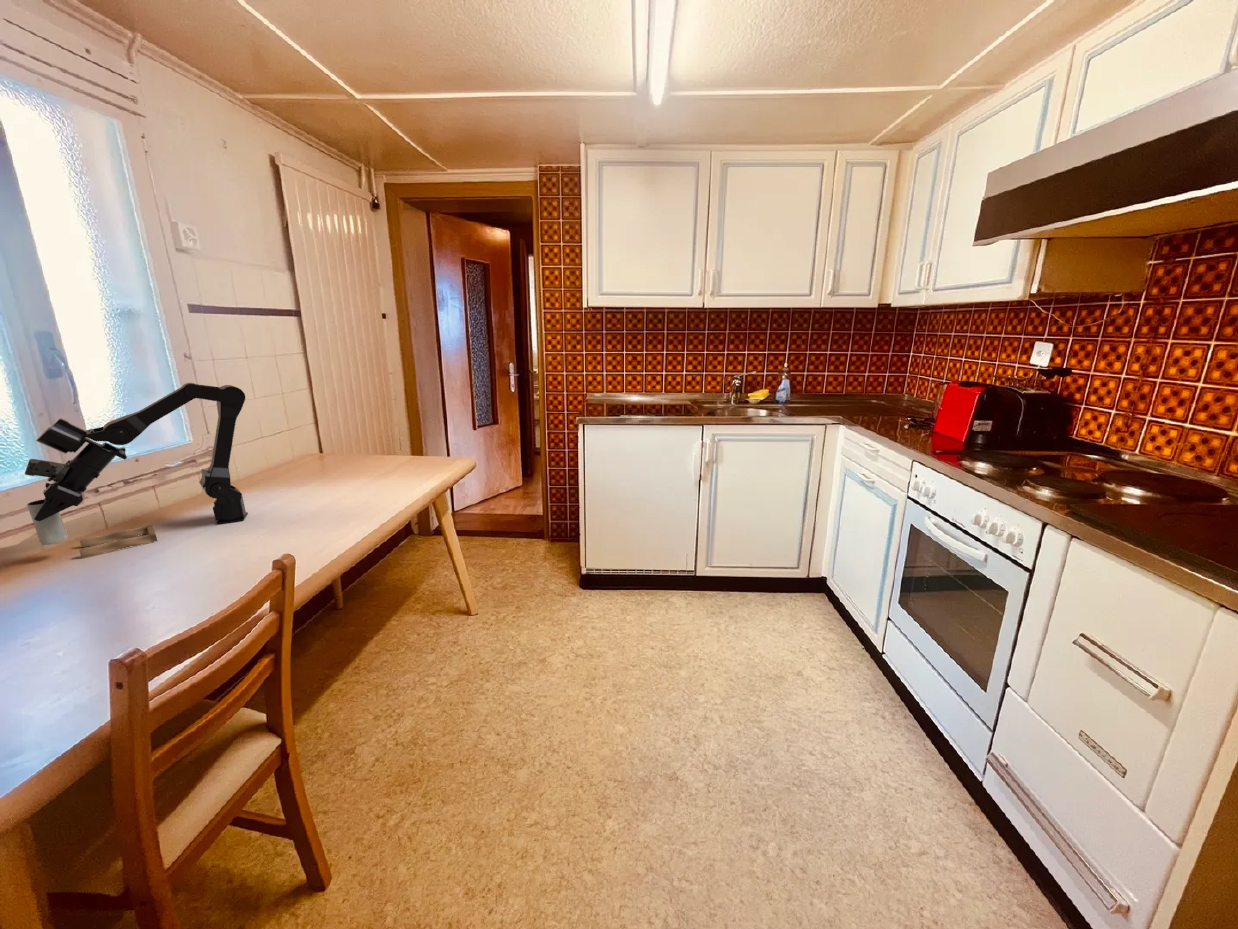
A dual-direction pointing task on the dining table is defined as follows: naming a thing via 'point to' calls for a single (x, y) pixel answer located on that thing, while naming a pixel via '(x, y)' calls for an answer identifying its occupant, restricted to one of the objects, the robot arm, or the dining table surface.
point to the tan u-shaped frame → (118, 544)
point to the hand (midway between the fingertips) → (37, 517)
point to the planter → (47, 525)
